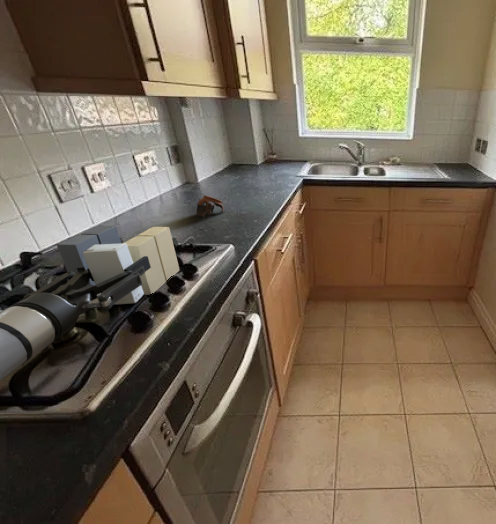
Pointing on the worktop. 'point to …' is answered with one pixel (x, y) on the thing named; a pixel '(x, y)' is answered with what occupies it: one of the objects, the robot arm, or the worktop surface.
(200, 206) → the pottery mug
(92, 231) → the grey books
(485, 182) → the worktop surface
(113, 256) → the cosmetic box
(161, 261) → the cream boxes
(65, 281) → the robot arm
